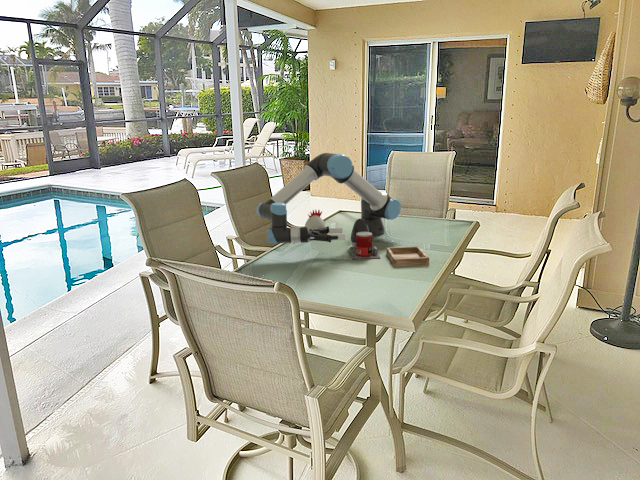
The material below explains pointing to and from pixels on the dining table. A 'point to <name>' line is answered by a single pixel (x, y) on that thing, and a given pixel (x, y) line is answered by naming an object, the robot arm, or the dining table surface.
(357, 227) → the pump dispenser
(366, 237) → the canned food
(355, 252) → the frame
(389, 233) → the dining table surface
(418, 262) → the tray
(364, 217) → the robot arm
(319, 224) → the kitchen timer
